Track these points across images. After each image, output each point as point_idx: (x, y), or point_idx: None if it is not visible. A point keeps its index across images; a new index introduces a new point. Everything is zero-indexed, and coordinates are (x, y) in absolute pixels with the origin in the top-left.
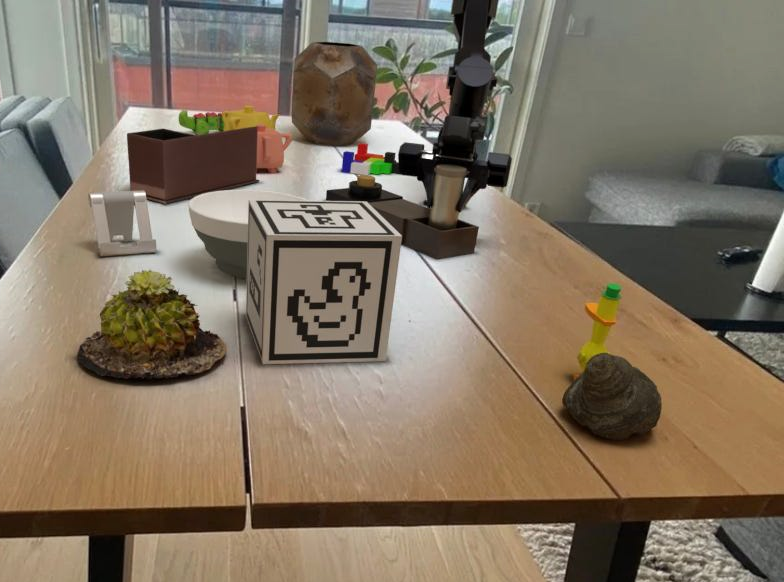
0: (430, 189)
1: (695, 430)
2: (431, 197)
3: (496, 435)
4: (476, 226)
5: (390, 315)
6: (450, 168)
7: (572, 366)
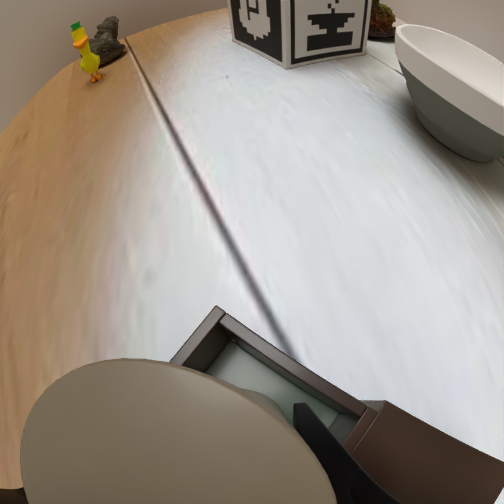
0: (322, 454)
1: (64, 79)
2: (299, 424)
3: (164, 33)
4: None
5: (229, 11)
6: (143, 479)
7: (93, 89)
